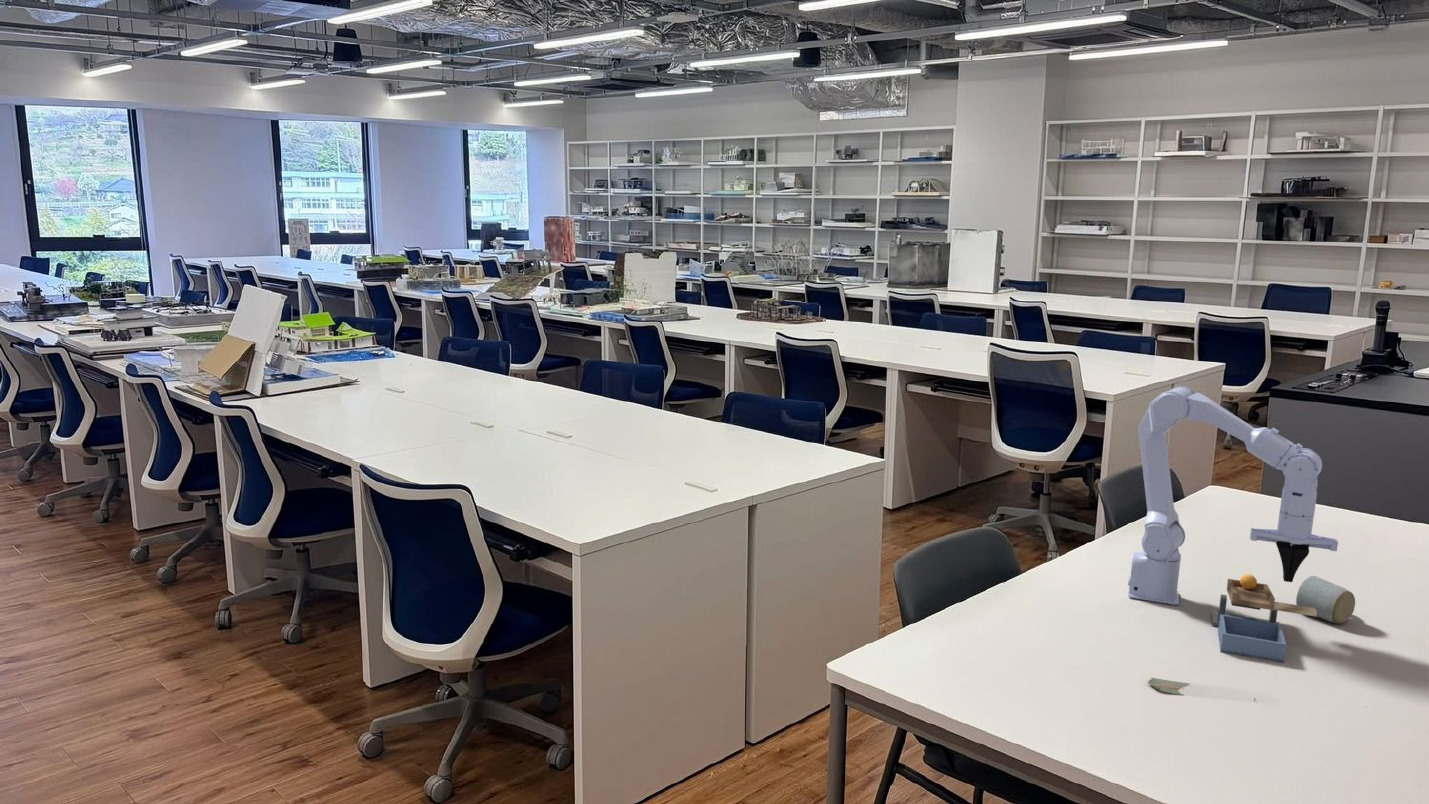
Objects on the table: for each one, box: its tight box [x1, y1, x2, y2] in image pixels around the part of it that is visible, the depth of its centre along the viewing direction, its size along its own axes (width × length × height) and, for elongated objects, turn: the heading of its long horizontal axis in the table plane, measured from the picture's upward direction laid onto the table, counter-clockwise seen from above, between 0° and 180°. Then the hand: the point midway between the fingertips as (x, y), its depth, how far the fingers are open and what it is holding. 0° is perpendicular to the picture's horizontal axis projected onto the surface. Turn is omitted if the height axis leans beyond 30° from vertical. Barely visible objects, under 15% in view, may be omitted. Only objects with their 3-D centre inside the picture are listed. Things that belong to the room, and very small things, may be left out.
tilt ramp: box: [1226, 578, 1317, 617], centre depth 194 cm, size 14×14×5 cm
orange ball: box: [1239, 573, 1258, 590], centre depth 200 cm, size 3×3×3 cm
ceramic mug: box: [1295, 575, 1356, 625], centre depth 202 cm, size 11×8×8 cm
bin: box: [1217, 614, 1287, 663], centre depth 187 cm, size 10×10×4 cm
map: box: [1146, 677, 1256, 702], centre depth 169 cm, size 5×20×1 cm, turn 80°
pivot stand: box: [1210, 593, 1281, 628], centre depth 196 cm, size 12×6×5 cm, turn 66°
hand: (1287, 580), depth 195 cm, fingers closed
